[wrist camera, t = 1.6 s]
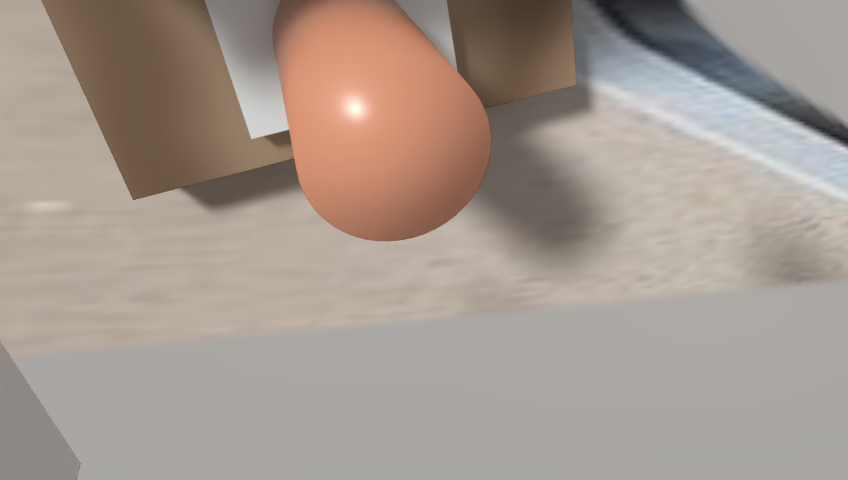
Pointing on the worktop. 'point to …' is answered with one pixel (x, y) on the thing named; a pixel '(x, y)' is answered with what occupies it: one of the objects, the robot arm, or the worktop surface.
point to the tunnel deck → (215, 95)
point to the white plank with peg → (361, 106)
